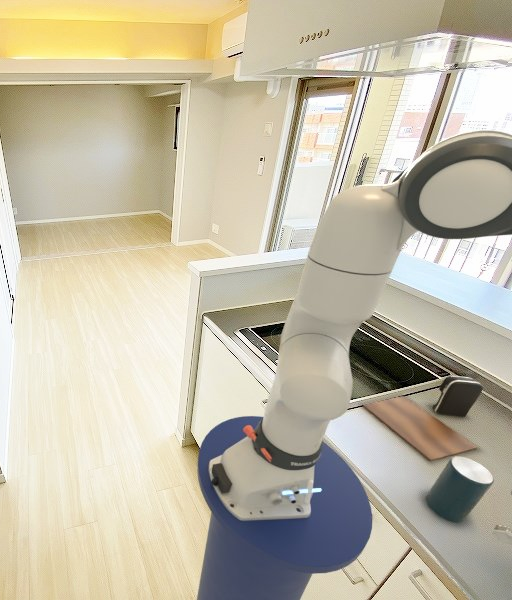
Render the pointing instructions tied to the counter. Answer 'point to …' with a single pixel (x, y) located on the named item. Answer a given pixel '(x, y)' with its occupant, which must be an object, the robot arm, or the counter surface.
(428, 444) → the wooden board
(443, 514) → the can
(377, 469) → the counter surface
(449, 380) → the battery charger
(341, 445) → the counter surface
